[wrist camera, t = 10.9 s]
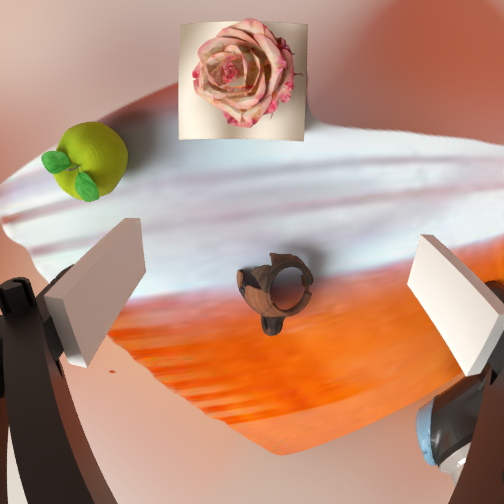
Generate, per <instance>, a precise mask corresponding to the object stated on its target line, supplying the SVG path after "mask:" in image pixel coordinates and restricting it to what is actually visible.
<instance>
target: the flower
mask: <svg viewBox="0 0 504 504" xmlns="http://www.w3.org/2000/svg"><path fill="white" fill-rule="evenodd" d="M294 54H295V53H292V52H291V50H290V47H289V45H287V44H286V40H285V39H284V38H282V37H280V38H276V37H275V36H274V34H273V32H272V31H270V30H269V29H268V28H267V25H266V26H265V25H264V24H262V23H261V22H259V21H258V20H256V19H252V18H250V19H248V18H247V19H245V20H243V21H241V22H239V23H237V24H234V25H231V26H228V27H226V28H223V29H222V30H221V31H220V32H219V33H218V34H217V36H216V37H215V38H213V39H210V40H208V41H206V42H205V43H204V44H203V45H202V46H201V47H200V48H199V49H198V52H197V55H198V57H199V60H200V61H199V63H198V64H197V66H196V67H195V69H194V70H193V72H192V77H193V78H195V79H196V80H193V85H194V89H195V92H196V94H197V95H199V96H200V97H202V98H203V99H205V100H206V101H207V102H209V103H210V104H212V105H213V106H215V107H216V108H218V109H219V110H222V111H223V115H224V117H225V119H227V123H228V124H231V125H233V126H238V127H245V128H251V127H252V126H253V125H255V124H256V123H257V122H258V121H259V119H260V118H261V117H262V116H263V115H265V114H269V113H271V118H272V116H273V112H275V111H276V110H277V107H278V104H279V101H278V100H279V99H280V100H281V102H282V103H287V102H288V101H289V100H290V98H291V93H290V92H288V91H292V90H293V88H294V83H293V79H294V76H296V75H302V76H303V74H302V73H297V74H296V73H294V66H293V59H292V55H294ZM303 77H304V76H303ZM198 93H199V94H198ZM203 96H204V97H203ZM271 118H270V119H271Z"/></svg>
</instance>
